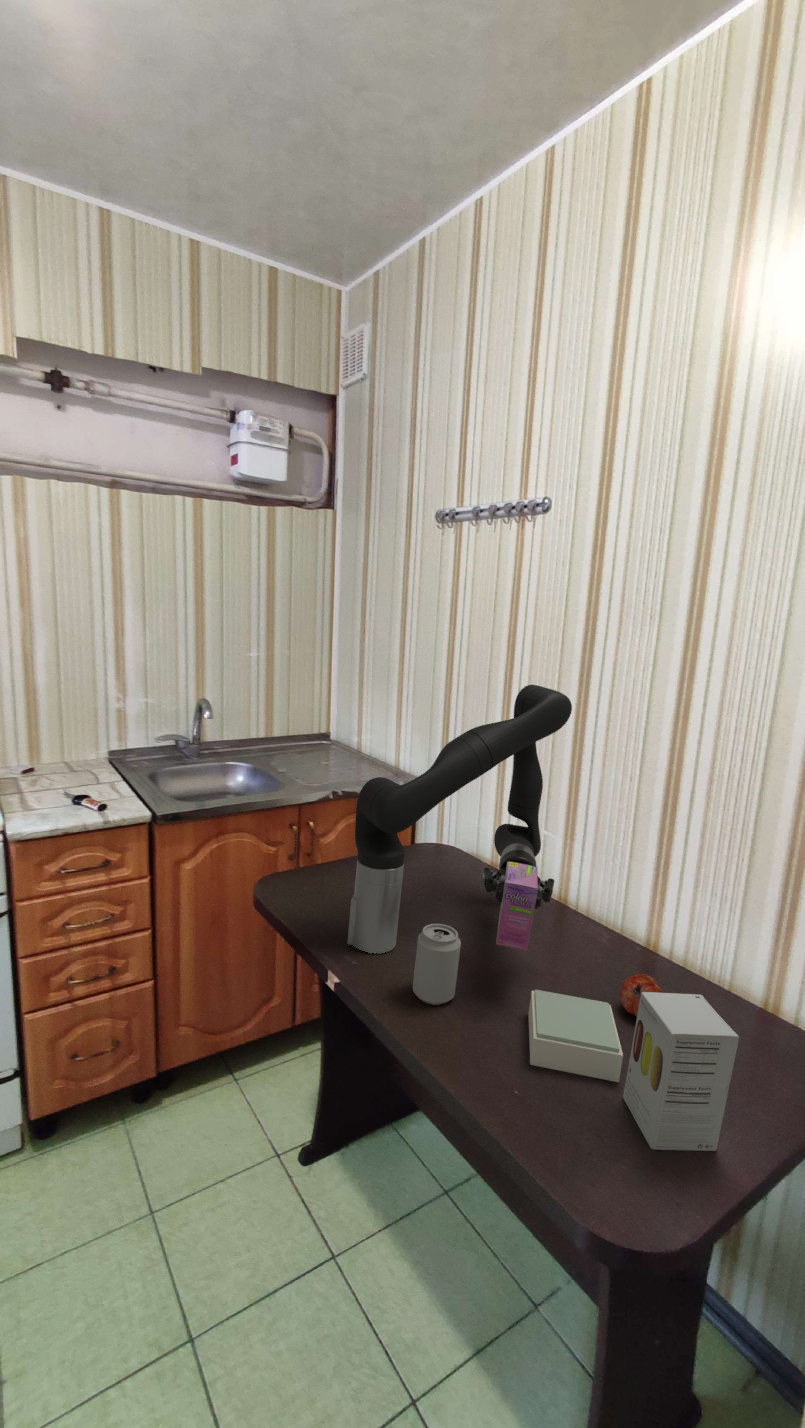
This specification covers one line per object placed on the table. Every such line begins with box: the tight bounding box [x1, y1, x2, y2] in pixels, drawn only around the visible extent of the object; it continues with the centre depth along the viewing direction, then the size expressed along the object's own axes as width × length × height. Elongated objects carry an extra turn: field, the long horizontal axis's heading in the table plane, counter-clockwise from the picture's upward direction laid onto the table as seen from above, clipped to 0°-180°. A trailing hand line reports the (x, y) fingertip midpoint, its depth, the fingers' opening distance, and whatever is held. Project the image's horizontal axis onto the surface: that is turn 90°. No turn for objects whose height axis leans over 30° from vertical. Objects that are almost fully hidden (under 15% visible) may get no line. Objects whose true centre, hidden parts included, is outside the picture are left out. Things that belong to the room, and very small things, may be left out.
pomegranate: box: [619, 973, 665, 1018], centre depth 114 cm, size 7×7×10 cm
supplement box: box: [622, 992, 740, 1152], centre depth 87 cm, size 10×9×17 cm
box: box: [495, 862, 539, 952], centre depth 117 cm, size 10×6×12 cm, turn 169°
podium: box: [527, 989, 624, 1083], centre depth 103 cm, size 13×13×5 cm
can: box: [412, 923, 462, 1006], centre depth 113 cm, size 8×8×12 cm
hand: (518, 900), depth 116 cm, fingers closed on box, 5 cm apart
